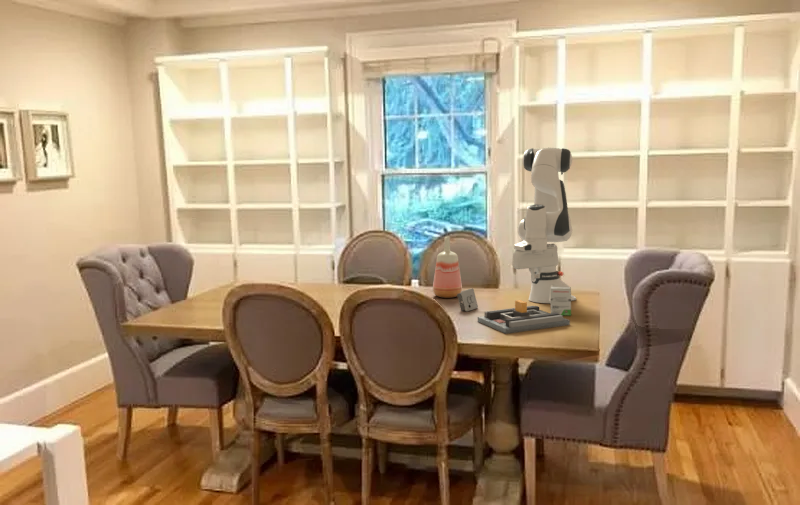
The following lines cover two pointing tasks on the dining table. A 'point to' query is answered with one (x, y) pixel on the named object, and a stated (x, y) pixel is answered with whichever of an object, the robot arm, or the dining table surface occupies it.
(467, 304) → the electrical switch
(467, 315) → the dining table surface
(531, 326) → the panel
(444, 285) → the vase
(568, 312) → the ink box
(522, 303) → the lever
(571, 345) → the dining table surface
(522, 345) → the dining table surface
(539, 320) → the pair of panel rails
